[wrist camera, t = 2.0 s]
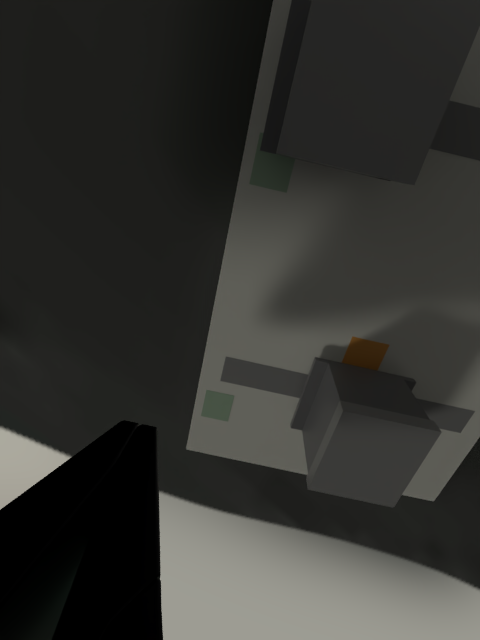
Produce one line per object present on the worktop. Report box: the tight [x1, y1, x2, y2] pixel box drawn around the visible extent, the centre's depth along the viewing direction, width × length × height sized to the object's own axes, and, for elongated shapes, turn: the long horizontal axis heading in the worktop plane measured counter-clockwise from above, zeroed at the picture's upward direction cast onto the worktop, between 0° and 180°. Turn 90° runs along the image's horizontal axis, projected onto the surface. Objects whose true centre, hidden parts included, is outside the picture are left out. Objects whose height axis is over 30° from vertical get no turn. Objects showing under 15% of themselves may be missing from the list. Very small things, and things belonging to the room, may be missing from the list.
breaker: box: [260, 0, 480, 185], centre depth 6 cm, size 3×3×2 cm
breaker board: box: [186, 0, 480, 501], centre depth 10 cm, size 10×14×1 cm
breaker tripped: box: [290, 357, 442, 508], centre depth 10 cm, size 3×3×2 cm
